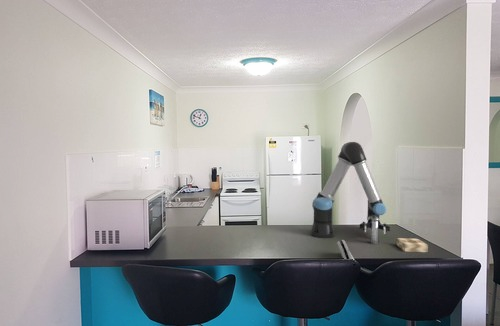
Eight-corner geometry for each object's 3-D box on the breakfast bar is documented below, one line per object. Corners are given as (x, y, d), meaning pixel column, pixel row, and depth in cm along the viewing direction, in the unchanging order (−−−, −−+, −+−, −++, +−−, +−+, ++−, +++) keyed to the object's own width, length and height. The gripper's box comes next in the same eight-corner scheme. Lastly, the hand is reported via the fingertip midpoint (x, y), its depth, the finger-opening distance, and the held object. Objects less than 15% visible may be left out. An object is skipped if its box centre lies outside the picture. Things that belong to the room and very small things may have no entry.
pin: (371, 244, 189) (372, 218, 188) (369, 242, 194) (369, 217, 193) (379, 244, 189) (380, 219, 188) (377, 242, 193) (377, 217, 193)
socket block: (404, 251, 176) (405, 244, 176) (396, 244, 188) (396, 238, 188) (427, 252, 175) (427, 244, 175) (417, 245, 187) (418, 238, 187)
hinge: (356, 264, 155) (349, 245, 155) (347, 267, 156) (340, 248, 156) (350, 253, 172) (344, 236, 172) (341, 256, 172) (335, 238, 172)
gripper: (392, 229, 204) (395, 239, 183) (355, 226, 212) (354, 235, 191) (392, 218, 204) (396, 226, 183) (355, 215, 211) (354, 222, 190)
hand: (375, 230), depth 187 cm, fingers open, 10 cm apart
